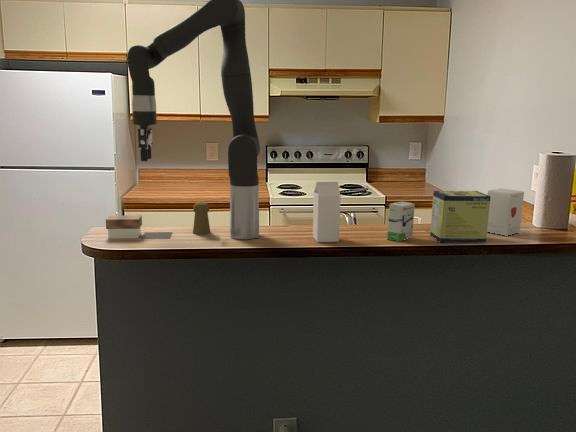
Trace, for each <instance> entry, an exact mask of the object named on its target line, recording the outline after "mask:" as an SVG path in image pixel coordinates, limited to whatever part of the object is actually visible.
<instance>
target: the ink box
mask: <svg viewBox="0 0 576 432" xmlns="http://www.w3.org/2000/svg"><path fill="white" fill-rule="evenodd" d="M415 205H416V204H415V203H412V202H408V201H403V200H402V201H398V202H393V203H390V204H389V205H388V207H389V208H388V220H387V221H388V223H387V224H388V225H387V236H386V237H387V240H388V239H389V241H393V240H395V241H394V242H399V241H401V242H403V241H402V240H404V239H407V238H410V237H412V238H413V230H414V217H415ZM410 239H411V238H410ZM407 240H408V239H407ZM404 241H405V240H404Z"/></svg>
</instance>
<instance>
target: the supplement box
mask: <svg viewBox="0 0 576 432" xmlns="http://www.w3.org/2000/svg"><path fill="white" fill-rule="evenodd" d="M487 195H488V196H491V197H490V207H489V217H488V227H487V233H488V232H490V233H489V234H492V233H495V234H494V235H497V234H501V235H500V236H502V235H505V236H504V237H506V236H507V237H509V236H508V235H511V236H513V235H512V234H515V233H519V232H520V231H521V223H522V215H523V214H522V213H523V207H524V206H523V205H524V197H525V196H524V195H525V191H523V190H522V191H521V190H514V189H508V188H496V189H495V188H494V189H489V190H487ZM519 234H520V233H519ZM515 235H516V234H515Z"/></svg>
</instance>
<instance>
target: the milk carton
mask: <svg viewBox="0 0 576 432" xmlns="http://www.w3.org/2000/svg"><path fill="white" fill-rule="evenodd" d="M315 183H316V184H315V186H314V187H315V188H314V191H313V205H312V206H313V207H312V208H313V211H312V213H313V214H312V237H313V239H314V240H315V241H316V243H339V242H340V222H341V219H340V218H341V197H342V196H341V192H340V187H339V181H316V182H315Z"/></svg>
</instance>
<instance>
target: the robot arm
mask: <svg viewBox="0 0 576 432" xmlns="http://www.w3.org/2000/svg"><path fill="white" fill-rule="evenodd" d="M219 26H220V31H221V37H222V42H223V43H222V45H223V51H222V56H221V57H222V58H221V66H220V67H221V68H220V74H221V75H220V76H221V85H222V91H223V95H224V99H225V100H224V101H225V103H226V106H227V109H228V112H229V115H230V118H231V123H232V139H231V140H230V142H229V143H228V148H227V149H228V150H227V160H228V161H227V163H228V164H227V167H228V176H229V177H228V178H229V199H230V203H229V212H230V213H229V215H230V216H229V217H230V219H229V222H230V223H229V224H230V227H229V228H230V231H229V233H230V238H232V239H237V240H251V239H259V238H260V209H259V207H260V206H259V204H260V203H259V202H260V201H259V199H260V198H259V197H260V195H259V194H260V193H259V188H260V187H259V186H260V185H259V184H260V183H259V182H260V179H259V174H258V173H259V172H258V156H259V155H260V152H261V151H260V150H261V145H260V141H259V136H258V131H257V127H256V123H255V115H254V111H255V110H254V108H255V107H254V95H253V93H254V92H253V82H252V72H251V67H250V66H251V65H250V60H249V55H248V48H247V41H246V11H245V6H244V4H243V3H242V1H241V0H209V1H207V2H206V3H205V4H204V5H203V6H202V7H201V8H199V9H198V10H196V11H195V12H193V13H192V14H191V15H189V16H187V18H185V19H183V20H182V21H180V22H179V23H177V24H175V25H173V26H171V27H169V28H168V29H166V30H164V31H163V32H161V33H159V34H158V35H156V36H155V37H154V38H153V41H152V42H151V43H150V44H147V45H146V46H144V45H141V44H134V45H132V46H130V48H129V49H128V51H127V54H126V63H127V67H128V72H129V76H130V79H131V90H132V93H131V94H132V99H131V106H132V111H131V112H132V124H133V125H134V126H139V128H137V136H138V145H137V146H138V149H139V150H140V162H148V161H149V160H150V159H152V147H153V128H152V127H151V126H156V125H157V124H158V123H157V122H158V121H157V102H156V101H157V100H156V91H155V90H156V87H155V86H156V85H155V81H154V78H153V77H151V75H150V70H151V69H154V68H155V67H157V66H159V65H160V64H161V63H162V62H163V61H165V60H166V59H167V58H168V57H170V56H172V55H174V54H176V53H178V52H179V51H181V50H183V49H185V48H186V47H188V46H189V45H191V43H192V42H193V41H195V40H196V39H197V38H198V37H199V36H200V35H202V34H204V33H205V32H207V31H208V30H210V29H215V28H217V27H219Z"/></svg>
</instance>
